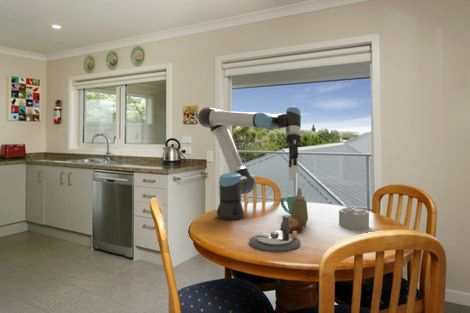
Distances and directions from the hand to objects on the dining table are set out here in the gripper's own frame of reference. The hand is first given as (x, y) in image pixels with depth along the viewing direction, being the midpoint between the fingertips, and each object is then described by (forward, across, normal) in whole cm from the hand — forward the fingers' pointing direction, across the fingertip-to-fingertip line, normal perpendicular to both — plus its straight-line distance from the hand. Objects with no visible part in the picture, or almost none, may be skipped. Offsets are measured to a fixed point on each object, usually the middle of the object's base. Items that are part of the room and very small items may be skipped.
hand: (293, 176), depth 150 cm
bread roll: (+27, -3, +1) cm, 27 cm away
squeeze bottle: (+23, +6, -4) cm, 24 cm away
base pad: (+33, -19, +9) cm, 39 cm away
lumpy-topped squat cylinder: (+22, +5, -28) cm, 36 cm away
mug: (+16, +24, -2) cm, 29 cm away
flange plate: (+31, -19, +9) cm, 38 cm away
